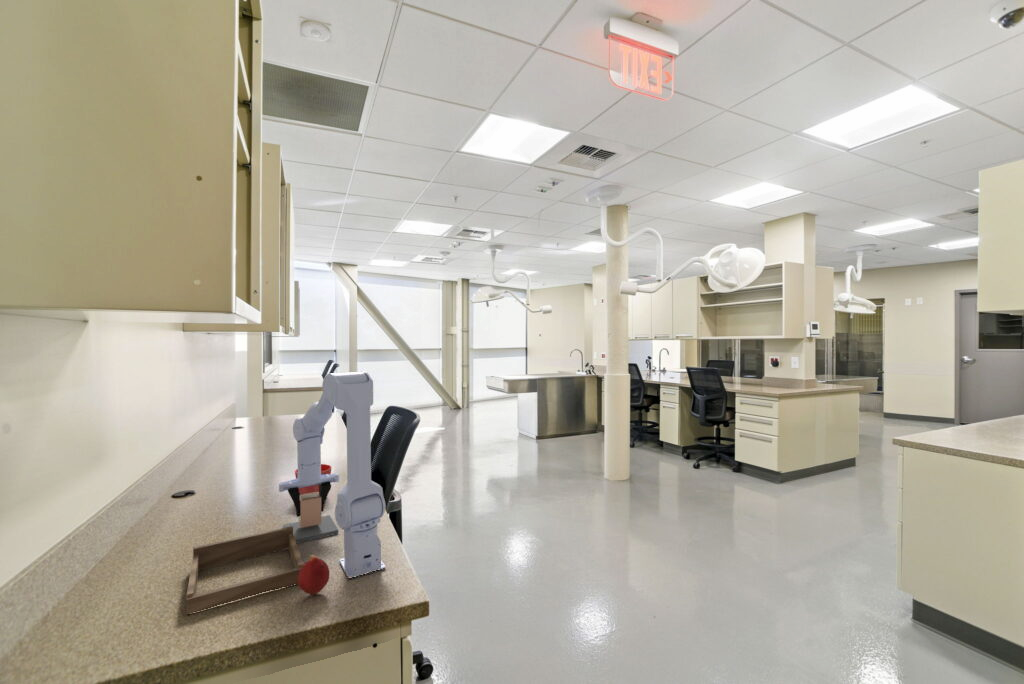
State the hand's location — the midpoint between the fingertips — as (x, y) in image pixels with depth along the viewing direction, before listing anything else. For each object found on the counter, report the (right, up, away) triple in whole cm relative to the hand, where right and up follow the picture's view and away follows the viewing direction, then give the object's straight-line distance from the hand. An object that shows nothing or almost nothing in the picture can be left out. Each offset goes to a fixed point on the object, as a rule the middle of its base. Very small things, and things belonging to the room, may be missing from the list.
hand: (309, 512), depth 117 cm
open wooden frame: (-3, -5, -22) cm, 23 cm away
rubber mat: (0, -5, 0) cm, 5 cm away
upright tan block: (0, -3, 0) cm, 3 cm away
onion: (+15, -5, -30) cm, 34 cm away
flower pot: (-10, -5, +25) cm, 28 cm away
